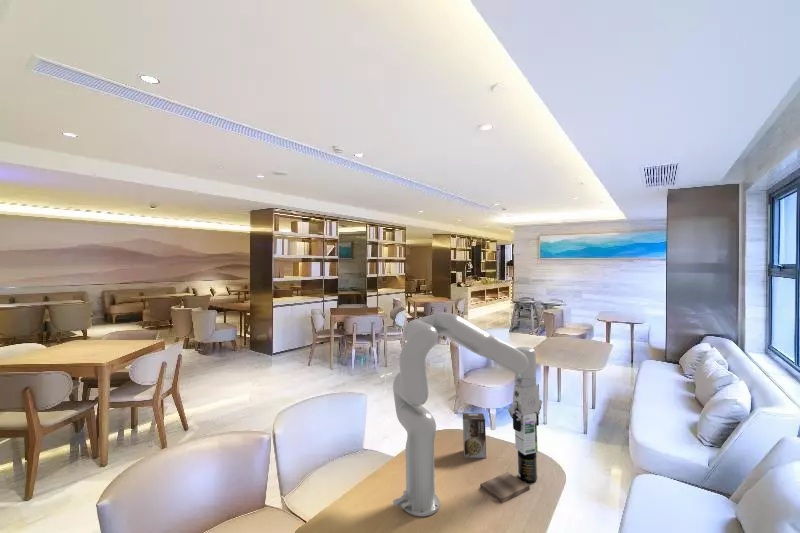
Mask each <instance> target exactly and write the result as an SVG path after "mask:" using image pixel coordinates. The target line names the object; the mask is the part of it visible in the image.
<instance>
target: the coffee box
mask: <svg viewBox="0 0 800 533" xmlns="http://www.w3.org/2000/svg"><path fill="white" fill-rule="evenodd" d="M486 435H487V434H486V418H485V415H484V413H480V412H479V413H473V412H470V413H468V412H467V413H466V412H464V413H462V436H463V439H462V440H463V442H462V444H463V445H462V446H463V456H464V458H470V459H471V458H472V459H480V458H481V459H486V458H487V442H486V441H487V440H486V439H487V438H486V437H487V436H486Z"/></svg>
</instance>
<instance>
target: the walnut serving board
mask: <svg viewBox="0 0 800 533" xmlns="http://www.w3.org/2000/svg"><path fill="white" fill-rule="evenodd" d="M479 486H480V488H479V489H480V490H482V491H483V492H484V493H486V494H488V495H489V496H490V497H492V498H493V499H495V500H496V501H497V502H499V503H500V504H503V503H505V502H508V501H510V500H511V499H513V498H517V497H518V496H519V495H522V494H523V493H524V494H525V493H526V492H528V491H530V489H531V488H530V486H531V485H530V484H529V483H526V482H523V481H522V480H520V478H519V477H517V476H515V475H513V474H511V473H510V472H504V473H503V474H500V475H498V476H496V477H493V478H491V479H489V480H486V481H484V482H481V483H480V484H479Z"/></svg>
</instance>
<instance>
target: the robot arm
mask: <svg viewBox="0 0 800 533" xmlns="http://www.w3.org/2000/svg"><path fill="white" fill-rule="evenodd" d="M440 336H443V337H445V338H447V339H450V340H451V341H452V342H455V343H456V344H458V345H460V346H461V347H463V348H465V349H466V350H469V351H470V352H472V353H474V354H476V355H477V356H480V357H483V358H486V359H488V360H490V361H493V363H494V364H495V365H496V366H498V367H499V368H502V369H503V370H507V371H510V372H512V373H514V387H513V393H512V404H511V406H509V408H508V414H509V415H510V417H511V419H512V429H513V430H514V431H515V430H516V431H519V432H521V421H520V418H521V416H522V415H528V414H531V413H534V412H535V413H536V420H537V427H538V426H539V425H540V422H539V420H540V418H539V415H540V414H541V408H542V404H543V400H541V399H540V391H539V385H538V384H537V355H536V354H537V352H536V350H535V349H534V348H532V347H529V346H518V347H514V346H513V345H510V344H509V343H507V342H505V341H503V340H501V339H500V338H498V337H496V336H494V335H492V334H490V333H489V332H487V331H485V330H484V329H482V328H480V327H478V326H476V325H475V324H473V323H472V322H470V321H468V320H467V319H465V318H463V317H461V316H459V315H457V314H455V313H450V312H445V311H444V312H442V311H441V312H437V313H434V314H430V315H427V316H424V317H419V318H416V319H413V320H410V321H409V322H407V323H406V325H405V326H404V329H403V338H404V339H405V340H406V342H405V343H404V346H403V347H402V349H401V351H400V355H399V372H398V373H397V374H396V375H395V377H394V380H393V382H392V383H393V384H392V391H393V399H394V408H395V412H396V418H397V421H398V422H399V423H400V425H401V426H402V427H403V428H404V430H405V431H406V434H407V435H406V436H407V437H406V442H405V450H404V451H405V452H404V453H405V490H403V494H402V495H400V497H397V498H395V499H393V501H392V503H393V504H392V505H393V506H394V507H398V506H400V508H401V509H403V510H404V511H405V513H407V514H408V515H411V516H415V517H427V516H431V515H433V514H436V512H437V511H438V510H439V509H440V506H441V505H440V498H439V496H438V495H436V492H435V491H436V490H435V489H436V486H435V485H436V484H435V438H436V433H437V424H436V419H435V418H434V416H433V415H432V413H431V412H430V411H429V410H428V409H426V408H425V407H424V406H423V405H425V404H426V402H427V401H428V398H429V386H428V378H427V377H428V376H427V372H426V358H427V356H428V354H429V352H430V351H431V350H432V349H433V348H434V347H435V345H436V344H437V342H438V339H439V337H440ZM517 413H518V416H517V415H516V414H517Z"/></svg>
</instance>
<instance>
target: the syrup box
mask: <svg viewBox="0 0 800 533" xmlns="http://www.w3.org/2000/svg"><path fill="white" fill-rule="evenodd" d="M516 415H517V416H518V413H517V414H516ZM520 421H521V432H519V431H516V430H514V442H515V450H517V451H518V450H519V451H520V452H521V453H523V454H524V455H526V454H531V453H538V429H537V428H538V426H537V420H536V413H535V412H534V413H531V414H528V415H522V416H521V418H520Z"/></svg>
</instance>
